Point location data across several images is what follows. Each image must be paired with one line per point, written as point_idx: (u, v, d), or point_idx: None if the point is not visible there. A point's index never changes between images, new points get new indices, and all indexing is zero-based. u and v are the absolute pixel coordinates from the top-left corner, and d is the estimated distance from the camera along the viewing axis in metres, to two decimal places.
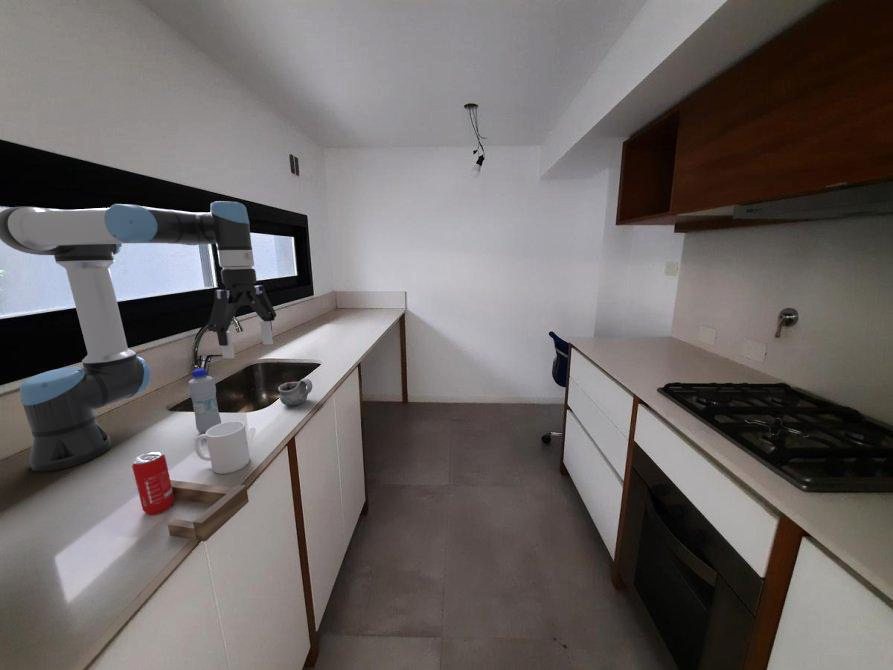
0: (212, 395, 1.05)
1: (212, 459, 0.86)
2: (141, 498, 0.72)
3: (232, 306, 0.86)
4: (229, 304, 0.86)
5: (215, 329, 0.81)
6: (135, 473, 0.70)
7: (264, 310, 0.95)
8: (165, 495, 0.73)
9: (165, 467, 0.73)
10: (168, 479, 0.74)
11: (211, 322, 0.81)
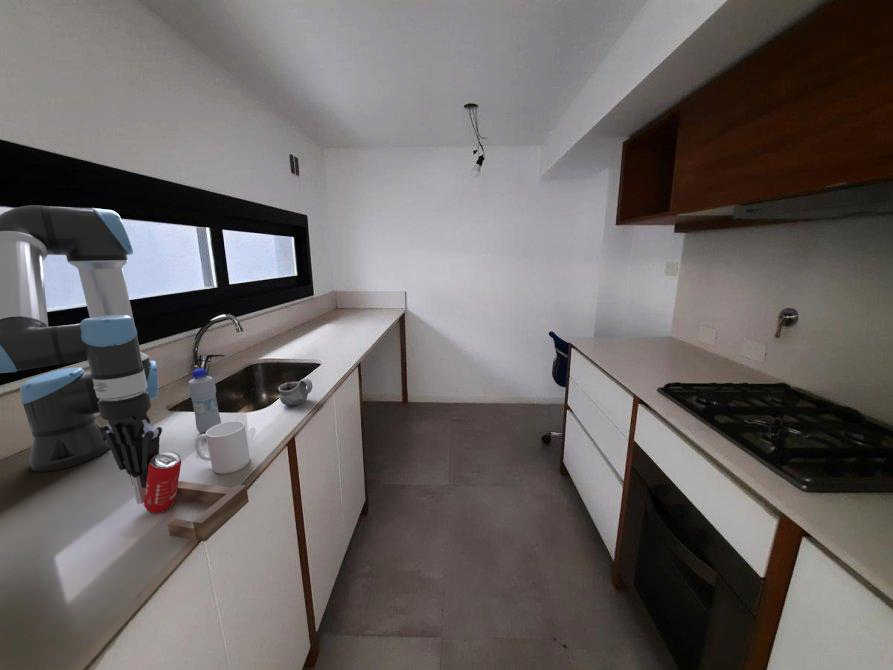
0: (212, 395, 1.05)
1: (212, 459, 0.86)
2: (147, 496, 0.71)
3: None
4: None
5: None
6: (150, 474, 0.69)
7: (135, 458, 0.71)
8: (170, 497, 0.73)
9: (179, 472, 0.73)
10: (177, 482, 0.74)
11: None
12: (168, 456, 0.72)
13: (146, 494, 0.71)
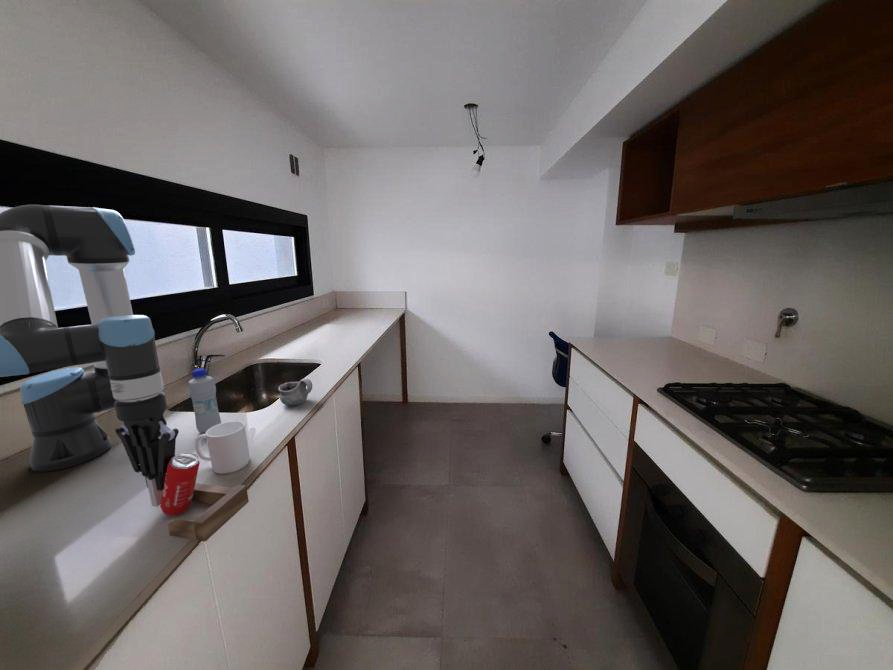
0: (212, 395, 1.05)
1: (212, 459, 0.86)
2: (165, 498, 0.70)
3: None
4: None
5: None
6: (170, 475, 0.69)
7: (151, 460, 0.70)
8: (189, 498, 0.72)
9: (197, 472, 0.72)
10: None
11: None
12: (186, 457, 0.72)
13: (164, 496, 0.70)
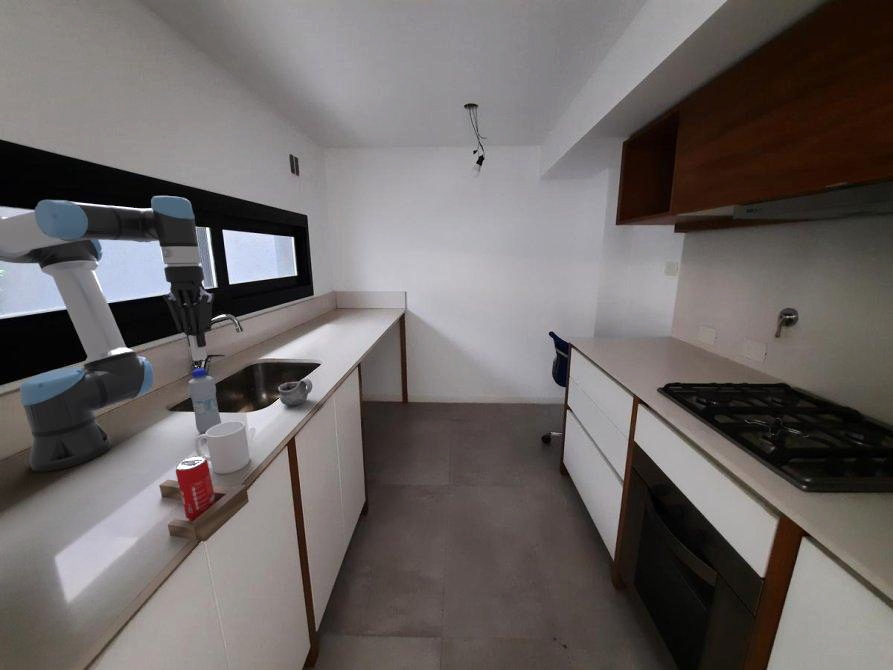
0: (212, 395, 1.05)
1: (212, 459, 0.86)
2: (186, 505, 0.69)
3: None
4: None
5: None
6: (180, 480, 0.68)
7: (193, 319, 0.87)
8: (210, 500, 0.71)
9: (209, 471, 0.71)
10: (211, 484, 0.72)
11: None
12: (192, 460, 0.71)
13: (184, 504, 0.69)
